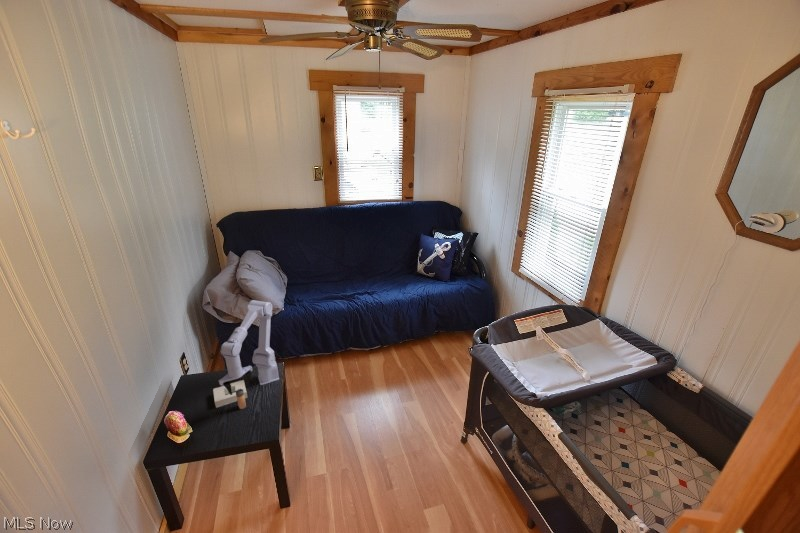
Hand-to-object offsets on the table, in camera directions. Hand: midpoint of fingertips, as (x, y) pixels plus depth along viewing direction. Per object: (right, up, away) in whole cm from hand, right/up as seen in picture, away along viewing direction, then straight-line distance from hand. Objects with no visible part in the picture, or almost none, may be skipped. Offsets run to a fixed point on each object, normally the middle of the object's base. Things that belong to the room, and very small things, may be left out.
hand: (239, 389), depth 169 cm
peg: (0, -9, +4) cm, 10 cm away
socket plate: (-8, -7, +10) cm, 15 cm away
